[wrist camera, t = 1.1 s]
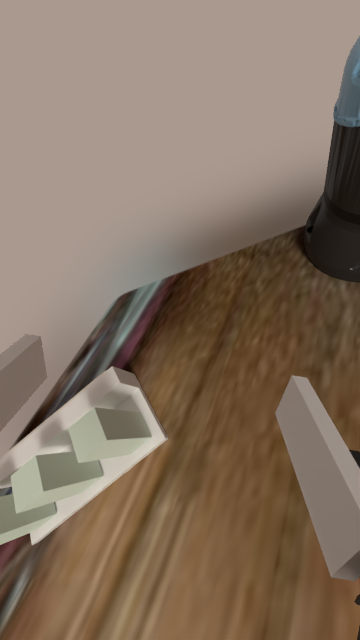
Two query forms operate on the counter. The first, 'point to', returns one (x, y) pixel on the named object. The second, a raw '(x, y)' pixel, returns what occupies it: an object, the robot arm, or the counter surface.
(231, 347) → the counter surface
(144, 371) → the counter surface
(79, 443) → the pale green tall block
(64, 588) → the counter surface
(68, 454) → the middle button
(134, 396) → the button panel
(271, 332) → the counter surface
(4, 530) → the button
